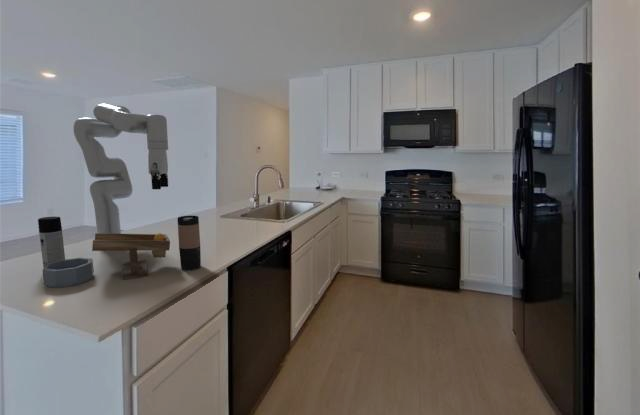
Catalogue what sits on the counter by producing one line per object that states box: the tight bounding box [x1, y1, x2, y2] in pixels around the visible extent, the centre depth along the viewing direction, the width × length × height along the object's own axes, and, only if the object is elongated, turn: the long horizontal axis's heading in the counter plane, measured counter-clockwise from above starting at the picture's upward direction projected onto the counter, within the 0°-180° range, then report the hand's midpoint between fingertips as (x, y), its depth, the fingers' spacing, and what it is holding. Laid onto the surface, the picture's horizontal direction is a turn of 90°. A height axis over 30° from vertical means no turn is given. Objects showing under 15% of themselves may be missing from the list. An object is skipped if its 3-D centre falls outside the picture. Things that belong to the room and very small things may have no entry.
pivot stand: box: [121, 248, 149, 281], centre depth 122 cm, size 18×8×10 cm, turn 31°
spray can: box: [37, 216, 66, 268], centre depth 122 cm, size 7×7×20 cm
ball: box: [154, 232, 165, 240], centre depth 126 cm, size 4×4×4 cm
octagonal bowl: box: [42, 257, 95, 289], centre depth 112 cm, size 13×13×6 cm
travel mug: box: [177, 215, 202, 271], centre depth 125 cm, size 8×8×20 cm
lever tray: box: [91, 232, 171, 259], centre depth 125 cm, size 20×24×7 cm
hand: (160, 187), depth 135 cm, fingers open, 9 cm apart
